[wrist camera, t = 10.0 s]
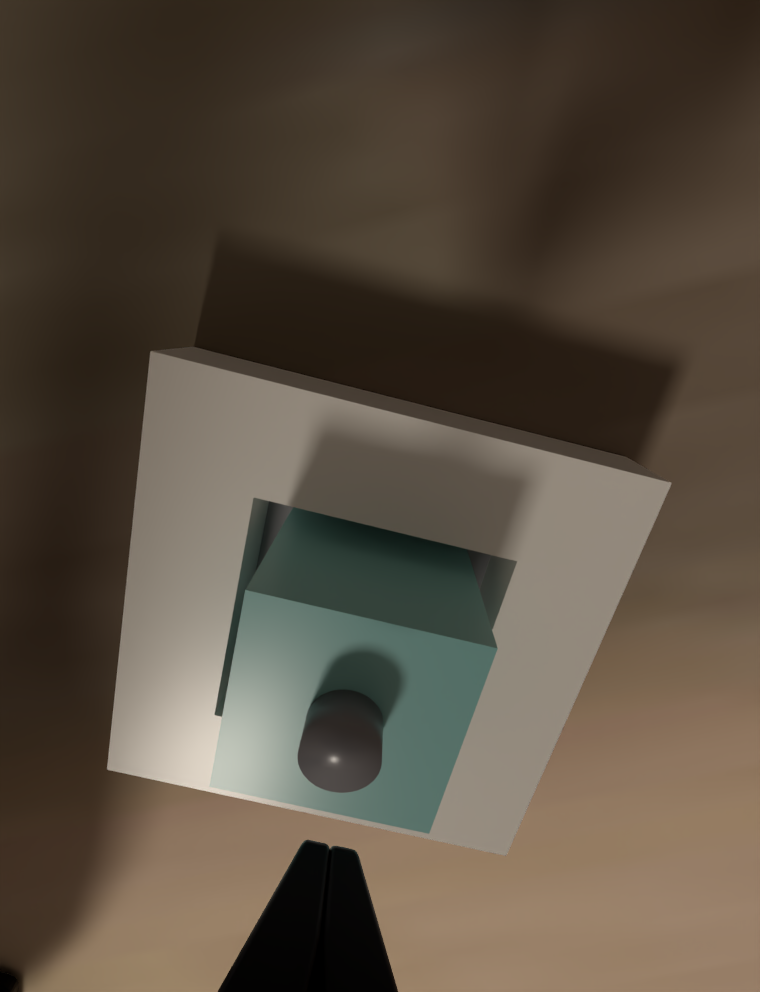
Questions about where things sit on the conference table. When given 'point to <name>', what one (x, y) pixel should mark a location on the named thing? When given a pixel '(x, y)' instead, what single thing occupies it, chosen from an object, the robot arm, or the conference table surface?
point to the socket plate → (380, 503)
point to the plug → (354, 672)
